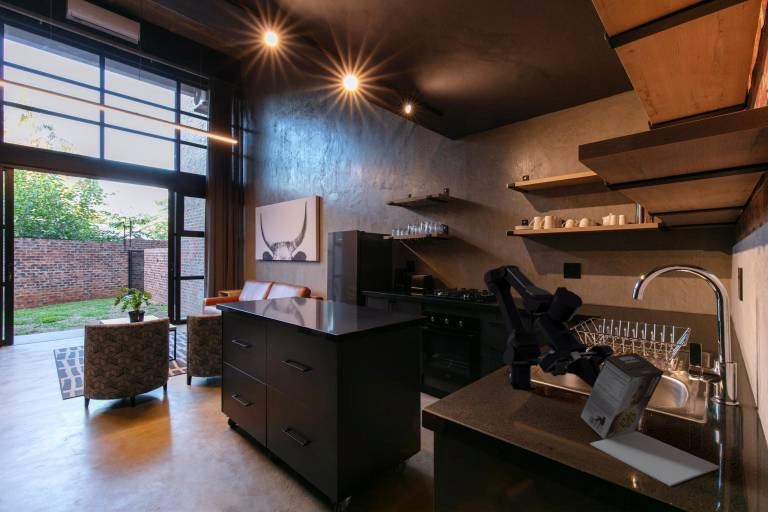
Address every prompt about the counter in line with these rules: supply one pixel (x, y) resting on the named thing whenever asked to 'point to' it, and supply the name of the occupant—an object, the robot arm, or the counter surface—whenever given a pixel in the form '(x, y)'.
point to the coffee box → (621, 394)
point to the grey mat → (655, 457)
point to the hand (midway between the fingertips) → (602, 392)
